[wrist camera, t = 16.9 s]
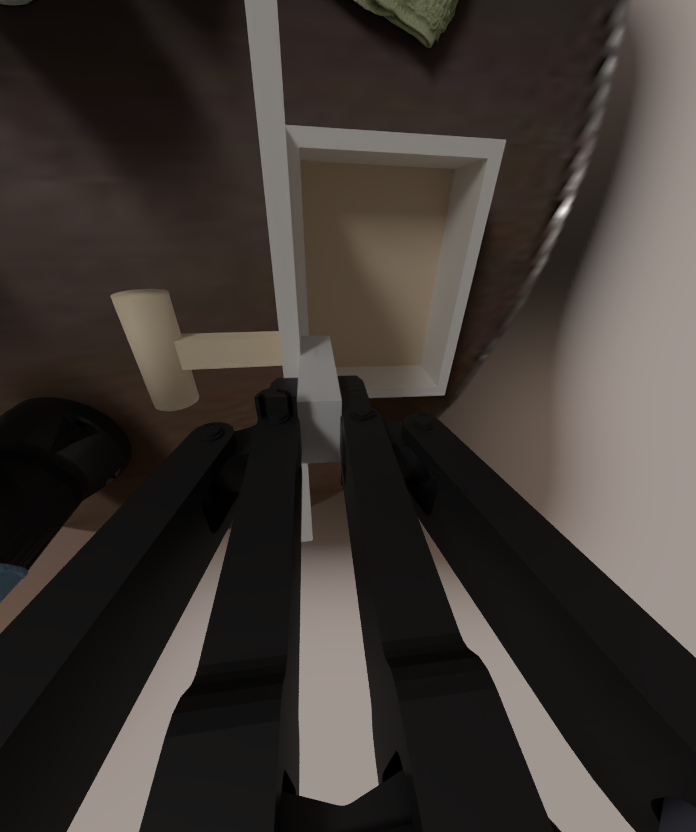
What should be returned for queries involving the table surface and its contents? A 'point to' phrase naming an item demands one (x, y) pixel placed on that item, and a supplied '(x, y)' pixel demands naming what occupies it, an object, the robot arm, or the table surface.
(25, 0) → the coffee can
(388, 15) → the washcloth
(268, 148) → the lid
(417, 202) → the box
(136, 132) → the table surface
